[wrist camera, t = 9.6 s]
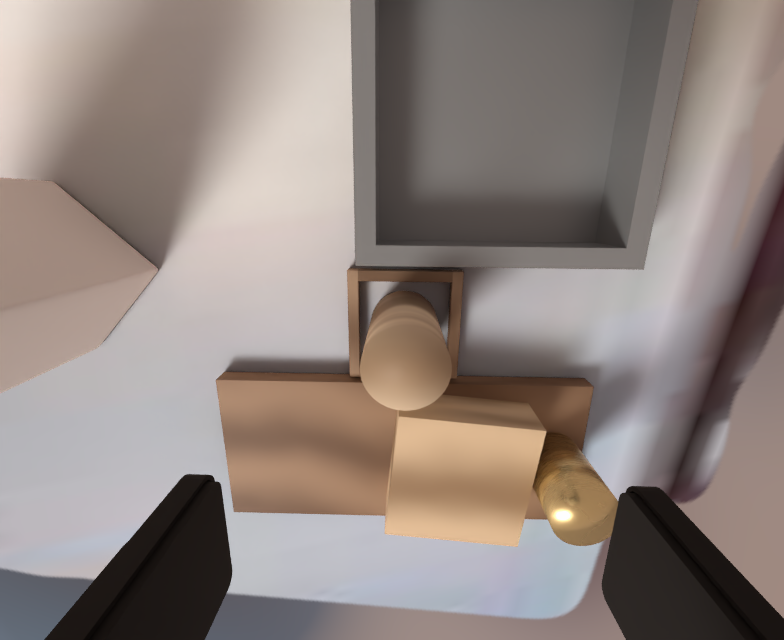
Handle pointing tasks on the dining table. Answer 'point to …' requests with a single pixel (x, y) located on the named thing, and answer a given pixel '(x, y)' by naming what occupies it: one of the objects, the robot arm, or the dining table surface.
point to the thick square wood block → (463, 470)
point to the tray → (512, 129)
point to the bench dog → (573, 493)
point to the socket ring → (403, 276)
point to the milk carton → (58, 279)
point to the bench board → (350, 436)
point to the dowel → (405, 353)
